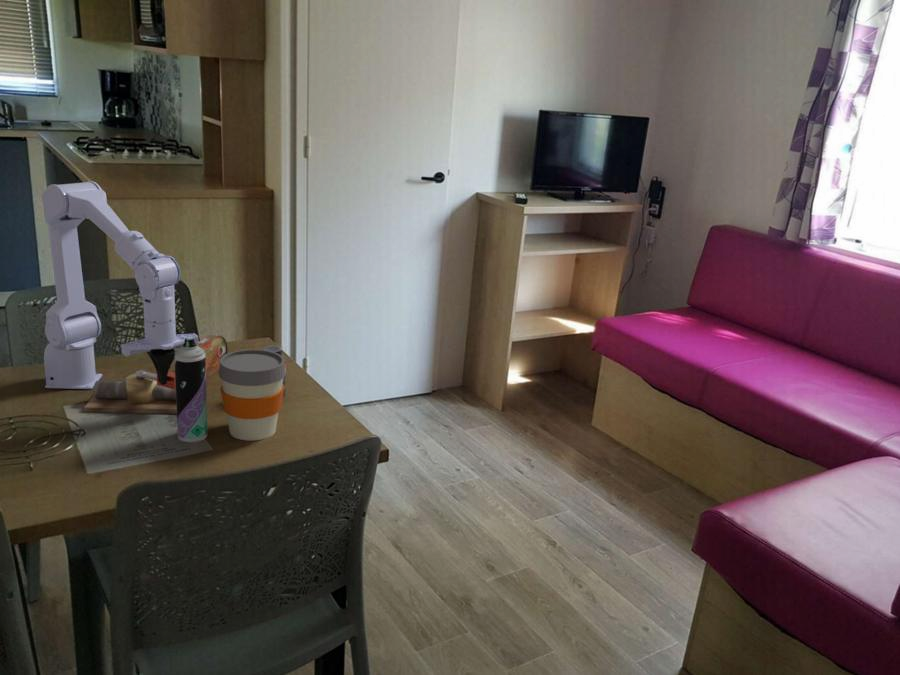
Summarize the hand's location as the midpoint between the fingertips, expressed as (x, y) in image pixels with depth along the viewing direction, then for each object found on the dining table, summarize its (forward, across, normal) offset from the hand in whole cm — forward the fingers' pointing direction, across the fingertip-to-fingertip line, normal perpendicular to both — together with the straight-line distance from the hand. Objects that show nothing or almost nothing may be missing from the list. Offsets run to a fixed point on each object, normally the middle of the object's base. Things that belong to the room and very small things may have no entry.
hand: (162, 383), depth 154 cm
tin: (+7, +16, +16) cm, 24 cm away
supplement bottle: (+7, +23, -3) cm, 24 cm away
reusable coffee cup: (+7, +12, -16) cm, 21 cm away
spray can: (+7, +1, -12) cm, 14 cm away
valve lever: (+1, 0, +4) cm, 4 cm away
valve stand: (+7, -2, +8) cm, 10 cm away
